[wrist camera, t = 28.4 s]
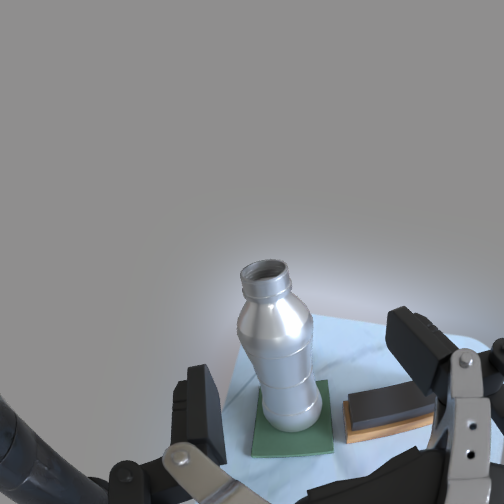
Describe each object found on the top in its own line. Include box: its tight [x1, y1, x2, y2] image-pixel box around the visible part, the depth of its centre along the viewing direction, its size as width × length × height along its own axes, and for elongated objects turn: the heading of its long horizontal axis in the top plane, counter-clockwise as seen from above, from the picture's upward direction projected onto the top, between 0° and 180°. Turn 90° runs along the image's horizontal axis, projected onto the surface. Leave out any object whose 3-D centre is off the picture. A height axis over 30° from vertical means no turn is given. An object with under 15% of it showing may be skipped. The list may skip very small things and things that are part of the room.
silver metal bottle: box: [237, 259, 322, 432], centre depth 26 cm, size 6×7×20 cm
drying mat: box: [251, 380, 334, 458], centre depth 30 cm, size 9×11×1 cm
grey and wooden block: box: [343, 381, 436, 444], centre depth 25 cm, size 14×5×4 cm, turn 84°
